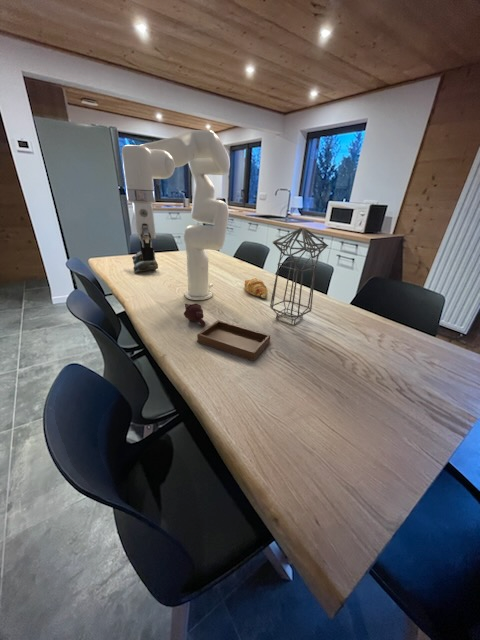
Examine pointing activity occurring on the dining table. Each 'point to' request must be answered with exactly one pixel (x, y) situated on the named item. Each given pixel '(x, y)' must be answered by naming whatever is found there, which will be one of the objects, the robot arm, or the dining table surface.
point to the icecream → (194, 313)
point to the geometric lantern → (276, 243)
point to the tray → (234, 339)
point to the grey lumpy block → (143, 263)
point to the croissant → (256, 287)
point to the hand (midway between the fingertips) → (147, 256)
